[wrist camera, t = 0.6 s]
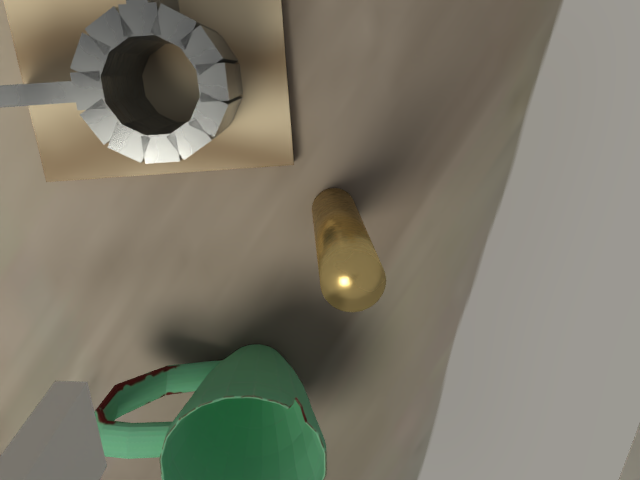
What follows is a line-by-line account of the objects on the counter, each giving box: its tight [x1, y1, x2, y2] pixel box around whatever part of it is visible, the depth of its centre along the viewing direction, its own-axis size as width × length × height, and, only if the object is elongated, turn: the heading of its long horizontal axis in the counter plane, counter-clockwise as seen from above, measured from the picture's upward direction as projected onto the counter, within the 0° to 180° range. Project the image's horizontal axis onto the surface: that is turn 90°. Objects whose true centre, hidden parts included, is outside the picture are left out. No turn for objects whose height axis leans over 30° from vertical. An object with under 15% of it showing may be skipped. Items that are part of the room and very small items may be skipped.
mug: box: [94, 344, 326, 480], centre depth 34 cm, size 15×10×10 cm
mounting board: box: [4, 0, 294, 182], centre depth 31 cm, size 15×16×1 cm
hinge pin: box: [312, 188, 386, 312], centre depth 29 cm, size 3×3×13 cm
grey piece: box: [0, 0, 243, 164], centre depth 27 cm, size 13×13×7 cm
